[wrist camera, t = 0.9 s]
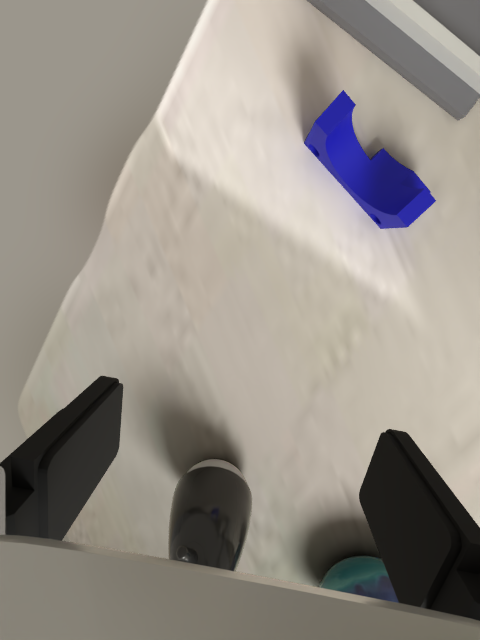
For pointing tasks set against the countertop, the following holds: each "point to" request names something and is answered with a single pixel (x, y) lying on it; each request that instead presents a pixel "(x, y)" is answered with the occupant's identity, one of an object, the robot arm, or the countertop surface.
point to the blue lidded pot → (360, 578)
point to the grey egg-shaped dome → (210, 516)
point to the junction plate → (420, 43)
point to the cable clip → (367, 170)
